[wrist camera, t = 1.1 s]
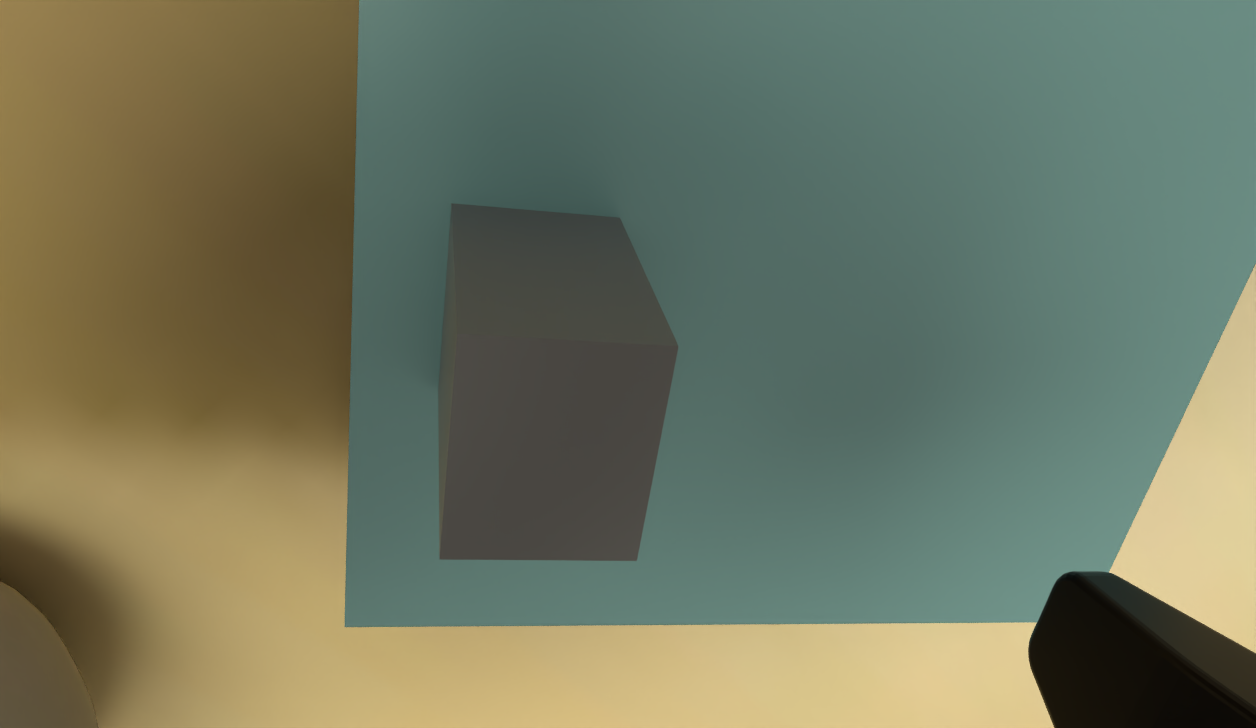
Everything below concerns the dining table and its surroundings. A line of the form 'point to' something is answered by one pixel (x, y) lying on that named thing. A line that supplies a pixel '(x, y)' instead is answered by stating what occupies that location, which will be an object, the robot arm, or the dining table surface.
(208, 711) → the dining table surface
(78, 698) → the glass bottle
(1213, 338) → the lid
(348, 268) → the dining table surface
